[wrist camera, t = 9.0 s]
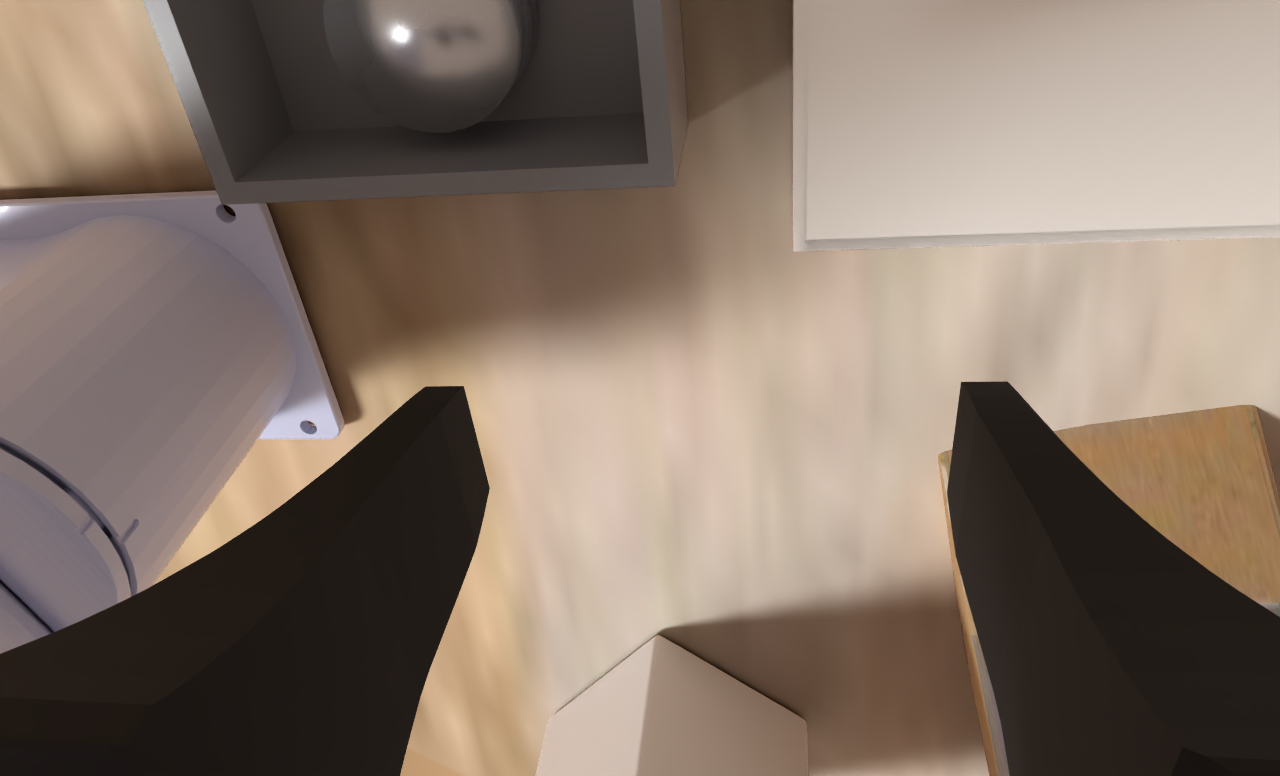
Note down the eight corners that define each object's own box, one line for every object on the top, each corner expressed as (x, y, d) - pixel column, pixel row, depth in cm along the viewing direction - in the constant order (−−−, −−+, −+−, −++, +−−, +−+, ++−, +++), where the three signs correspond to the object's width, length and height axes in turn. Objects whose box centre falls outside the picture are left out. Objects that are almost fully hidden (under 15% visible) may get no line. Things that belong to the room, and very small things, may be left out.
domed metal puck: (380, 100, 21) (347, 131, 20) (341, -91, 19) (300, -72, 18) (547, 101, 21) (528, 134, 19) (529, -94, 19) (505, -76, 17)
